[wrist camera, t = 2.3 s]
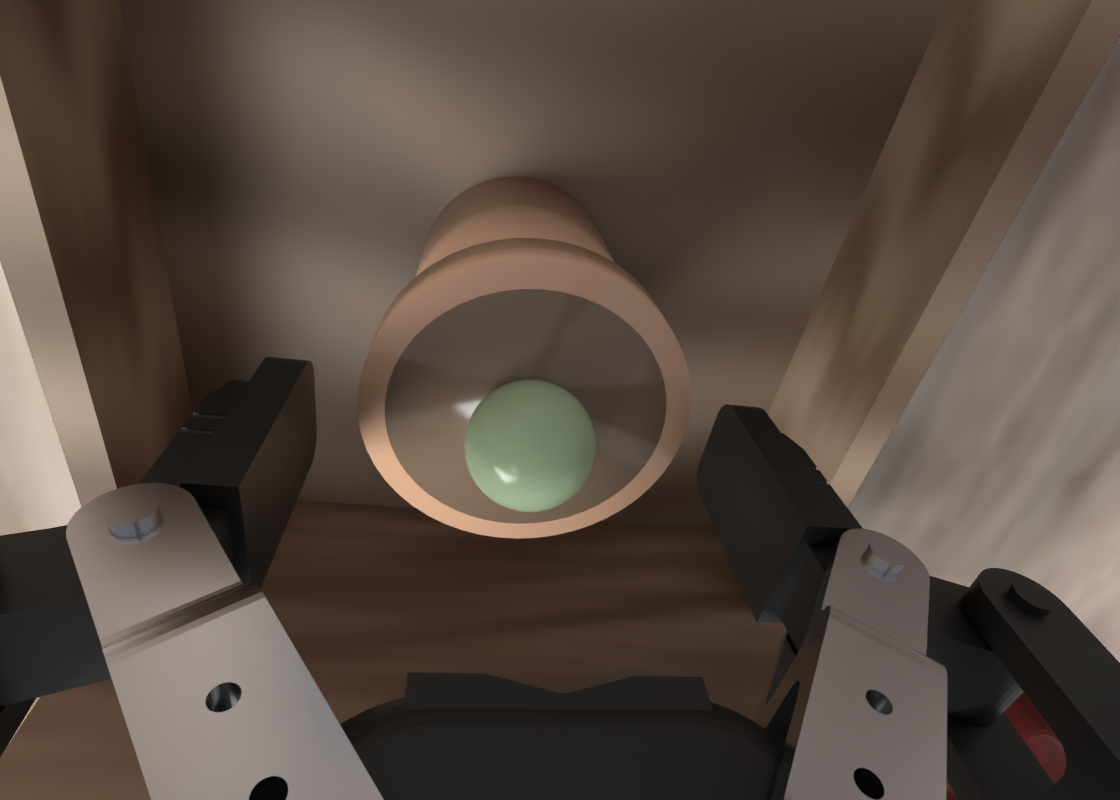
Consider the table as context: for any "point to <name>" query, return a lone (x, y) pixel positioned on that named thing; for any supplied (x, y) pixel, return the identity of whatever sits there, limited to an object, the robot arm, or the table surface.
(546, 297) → the seedling pot
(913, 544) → the table surface
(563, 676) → the box
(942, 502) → the table surface
